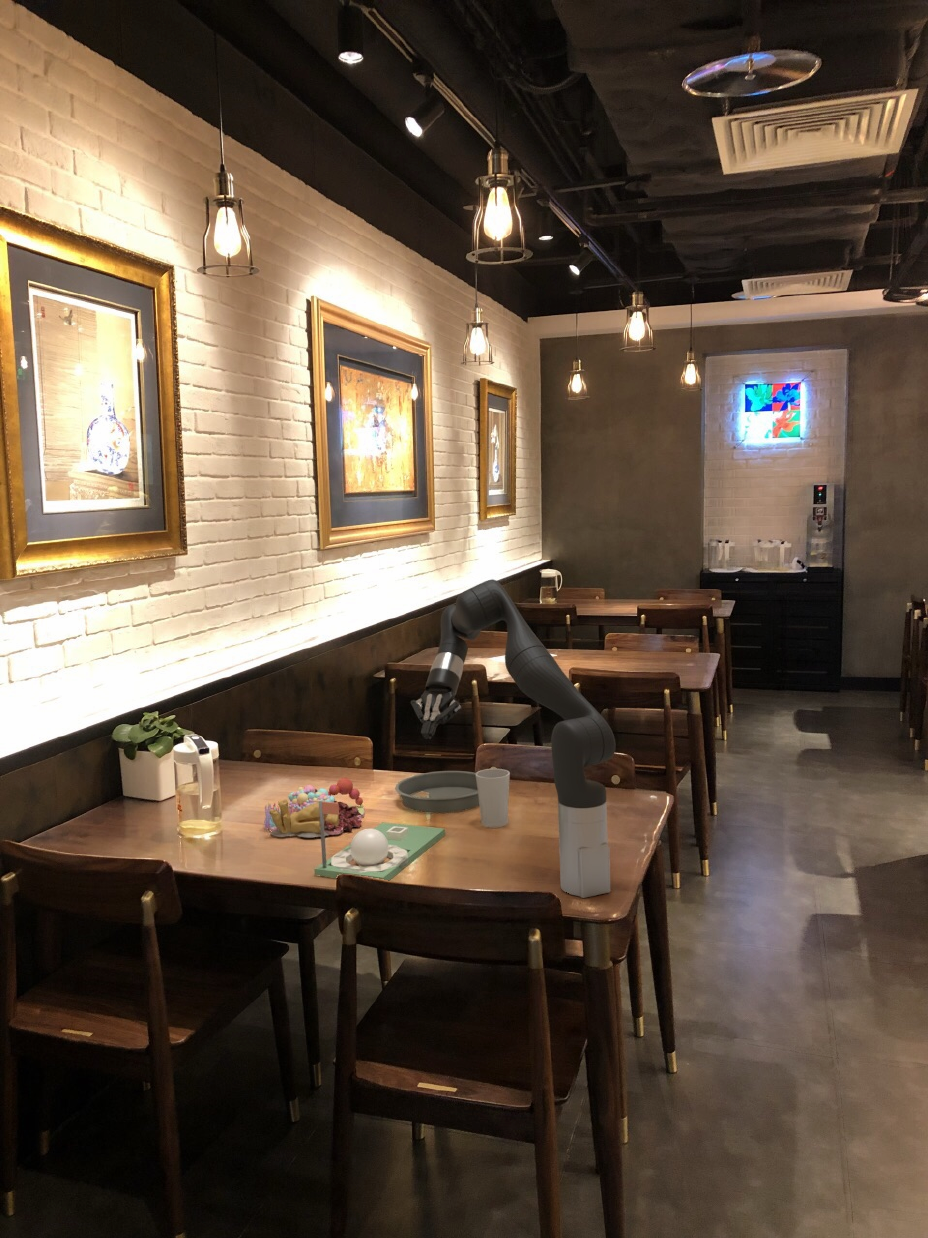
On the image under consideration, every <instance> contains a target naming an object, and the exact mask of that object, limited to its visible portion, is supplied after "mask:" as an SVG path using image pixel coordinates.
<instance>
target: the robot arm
mask: <svg viewBox="0 0 928 1238" xmlns="http://www.w3.org/2000/svg"><path fill="white" fill-rule="evenodd" d="M500 621H504V622H505V623H506V628H507V629H506V631H507V632H506V633H507V634H506V636H507V637H506V645H505V650H504V662H505V663H504V664H505V667H506V671H507V672H508V674H509V675H510V677H511V679H512V680H513V682H514V683H515V684H516V685H517V687H518V688H519V690H520V691H521V692H522V693H524V694H525V695H526V696H527V697H528V698H530V699H532V700H533V701H534V702H536V703H538V704H540V705H542V706H544V707H546V708H547V709H549V710H551V711H553V712H554V713H556V714H557V715H559V716H560V717H561V718H562V719H563V720H561V721H559V722H557V723H556V724H555V726H554V727H553V729H552V732H551V740H550V742H551V743H550V745H551V746H550V747H551V748H550V749H551V759H552V770H553V771H552V772H553V781H554V783H553V784H554V787H555V789H556V794H557V811H558V814H557V815H558V819H557V820H558V841H559V842H558V843H559V845H558V846H559V848H558V849H559V850H558V851H559V871H560V874H559V878H560V889H561V890H562V891H563V892H564V893H566V892H567V894H568V893H569V895H572V896H575V897H576V896H577V897H580V898H581V899H585V898H589V897H594V896H597V895H602V894H603V895H604V894H607V893H609V894H610V892H611V870H610V868H611V865H610V844H609V843H608V820H607V819H608V817H607V815H608V814H607V812H608V811H607V809H608V808H607V789H606V787H605V785H603V784H602V783H601V782H598V781H596V780H592V779H586V773H585V767H589V766H594V765H599V764H602V763H605V762H608V761H610V760H611V759H612V757H614V755H615V753H616V747H617V746H616V739H615V735H614V733H613V731H612V728H611V727H610V724H608V722H607V721H606V720H605V718H604V717H603V716H602V715H601V714H600V712H599V711H598V710H597V709H596V708H595V707H594V706H593V705H592V704H591V703H590V702H589V701H588V700H587V698H585V697H584V696H583V695H582V693H581V692H580V691H579V689H577V687H576V686H575V685H574V684H573V682H572V681H571V680H570V678H568V676H567V675H566V674H565V673H564V671H563V670H562V668H561V666H559V665H558V663H557V661H556V660H555V659H554V657H553V655H551V653H550V652H549V650H548V649H547V648H546V646H544V644H543V643H542V641H541V640H540V639H539V638H538V637H537V635H536V634H535V633H534V632H533V630H532V628H531V627H530V626H529V625H528V623H527V622H526V620H525V619H524V617H523V615H522V614H521V613H520V611H519V609H518V608H517V606H516V605H515V603H514V601H513V600H512V599H511V597H510V595H509V594H508V592H507V591H506V589H505V588H504V587H503V585H502V584H501V583H500V582H499V581H497V580H495V579H493V578H491V579H489V580H485V581H483V582H481V583H479V584H476V585H474V586H472V587H470V588H468V589H466V590H464V591H463V592H460V594H459V595H458V596H457V597H456V601H455V604H451V605H450V604H449V605H448V606H447V607H445V608H444V610H443V611H442V613H441V617H440V643H439V647H438V650H437V652H436V656H435V657H434V658H435V659H434V660H433V662H432V665H431V668H430V669H429V670H430V671H429V674H428V677H427V681H426V683H425V687H424V692H423V693H422V694H421V695H420V698H418V699H417V700H415V699H413V700H411V701H410V705H411V706H412V708H413V710H414V713H415V715H416V716H417V718H418V719H419V722H420V723H421V724H422V727H421V729H420V730H421V731H420V734H421V736H422V737H423V739H424V740H431V739H432V738H433V737H434V736H435V733H436V730H437V727H438V725H441V724H442V725H445V724H446V723H448V722H449V721H450V720H451V719H452V718H454V716H455V715H457V714H459V713H460V712H461V711H462V706H461V705H460V703H459V701H457V700H456V698H455V697H456V695H457V691H458V689H459V684H460V682H461V678H462V675H463V671H464V670H463V669H464V665H465V662H466V657H467V654H468V651H469V650H468V649H469V645H468V643H467V642H466V641H465V640H464V639H466V640H469V641H472V640H475V639H477V638H478V637H479V636H480V634H481V632H482V630H484V629H486V628H488V627H490V626H493V625H495V624H496V623H499V622H500ZM524 694H523V695H524ZM423 705H424V714H423V712H422V708H423Z"/></svg>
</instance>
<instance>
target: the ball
mask: <svg viewBox="0 0 928 1238" xmlns="http://www.w3.org/2000/svg"><path fill="white" fill-rule="evenodd" d="M350 844H351V846H350V851H351V855H352V858H353V861H354V862H355V863H356V864H357V866H362V867H367V866H377V865H380V864H383V862H384V861H385V860H386V858H388V857H387V854H388V850H389V845H388V841H387V839H386V837H385V836H384V834H383V833H381V832H380V831H378V830H376V829H374V828H365V829H362V830H360V831H358V832H357V833H355V835H354V837H353V838H352V840H351V843H350Z"/></svg>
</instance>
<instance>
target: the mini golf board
mask: <svg viewBox="0 0 928 1238" xmlns="http://www.w3.org/2000/svg"><path fill="white" fill-rule="evenodd" d="M323 813H324V814H334V815H339V804H338V803H333V802H323V801H319V815H320V831H321V837H320V844H321V858H322V859H321V860H322V863H320V864H319V865H318V866H316V867H314V869H313V870H314V876H315V875H320V876H326V877H325V878H327V877H332V878H331V879H335V880H337V879H336V877H337V875H339V874H354V875H361V876H368V877H373V878H379V879H384V880H389V881H391V879H393V878H394V877H395V876H397V874H399V873H400V872H402V871H403V870H404V869H405V868H407V866H409V865H410V864H411V863H413V862H414V861H415V860H416V859H418V858H419V857H420V856H421V855H422V854H424V853H425V852H426V851H428V849H430V848H431V847H432V846H434V844H436V843H438V842H439V841H440V840H441V839H442V838H443V837H444V836H446V829H445V828H443V827H432V826H425V825H424V826H422V825H413V824H405V823H403V824H402V823H394V822H391V823H390V822H381V823H380V824H378V825H377V826H375V827H374V828H373V829H376V830H378V831H380V832H381V833H383V834H384V836H385V837H386V839H387V841H388V845H389V850H388V854H387V857H386V858H389V859H390V860H389V861H387V862H384V863H381V864H380V865H377V866H367V867H362V866H360V865H354V864H351V863H350V862H352V861H354V859H353V858H352V855H351V851H350V846H351V843H350V844H348V845H347V846H345V847H344V848H343V849H342V850H339V851H338V852H337V853H336V854H334V855H332V856H331V857H330V858H328V859H327V851H326V849H327V848H326V836H325V832H324V816H323ZM320 876H319V877H320Z"/></svg>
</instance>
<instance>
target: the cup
mask: <svg viewBox="0 0 928 1238" xmlns="http://www.w3.org/2000/svg"><path fill="white" fill-rule="evenodd" d="M475 773H476V781H477V788H478V796H479V811H480V813H479V814H480V825H482V826H483V827H486V828H491V829H493V828H495V829H496V828H502V827H505V826H507V825H508V824H509V794H510V793H509V791H510V789H509V788H510V777H511V776H510V774H511V773H510V771H509V770H507V769H504V768H503V769H502V768H486V769H482V770H478V771H477V772H475Z"/></svg>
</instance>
